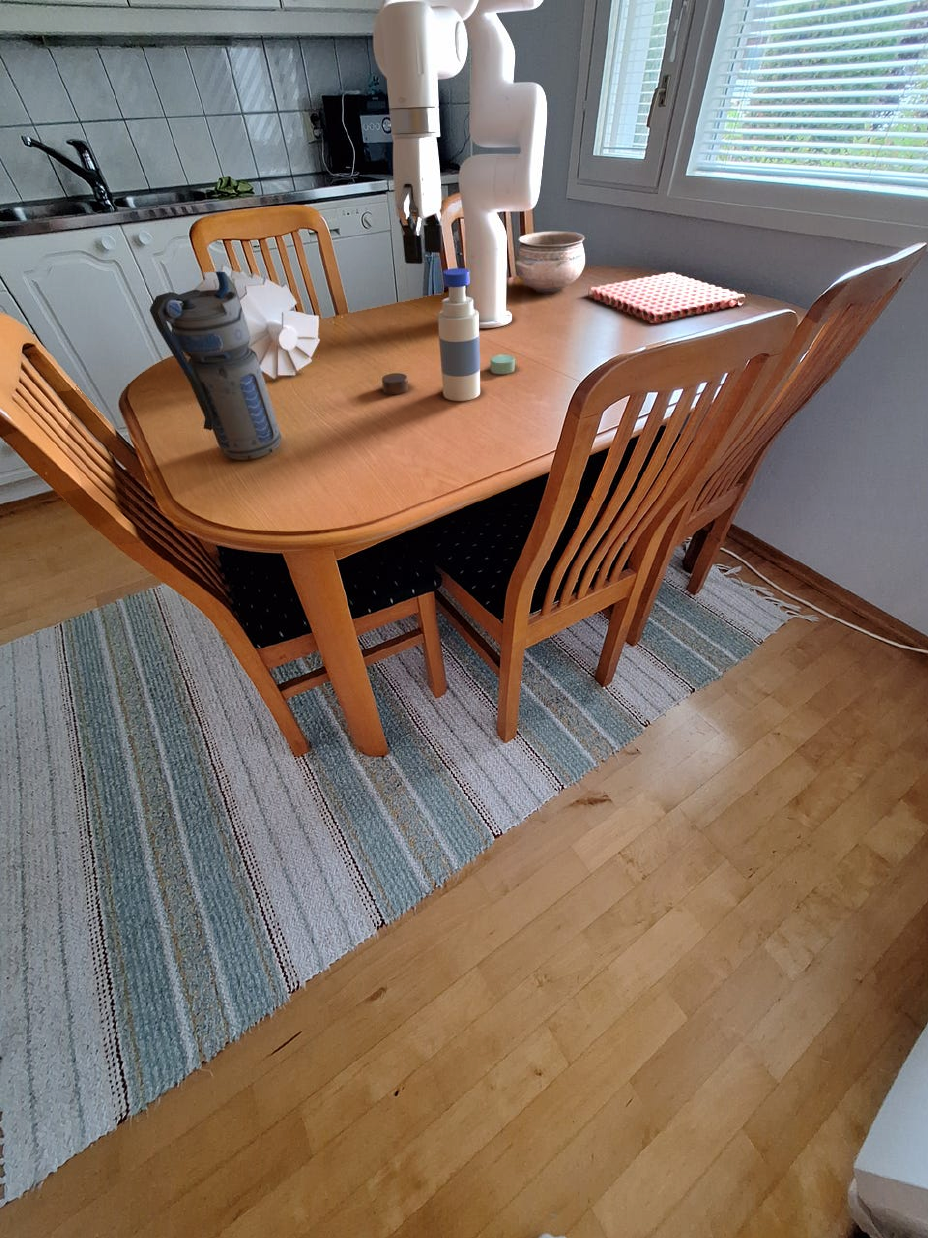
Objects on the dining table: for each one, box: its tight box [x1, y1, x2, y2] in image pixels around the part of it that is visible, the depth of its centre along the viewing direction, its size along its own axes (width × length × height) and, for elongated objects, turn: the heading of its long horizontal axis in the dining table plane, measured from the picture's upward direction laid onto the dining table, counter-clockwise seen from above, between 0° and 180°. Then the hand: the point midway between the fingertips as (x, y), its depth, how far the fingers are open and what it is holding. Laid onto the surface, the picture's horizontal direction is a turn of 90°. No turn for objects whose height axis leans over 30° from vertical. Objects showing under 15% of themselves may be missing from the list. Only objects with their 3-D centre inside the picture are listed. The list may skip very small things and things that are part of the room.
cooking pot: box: [514, 230, 586, 295], centre depth 145 cm, size 25×19×12 cm
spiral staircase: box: [193, 264, 321, 380], centre depth 111 cm, size 18×18×25 cm
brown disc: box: [381, 372, 409, 395], centre depth 105 cm, size 5×5×2 cm
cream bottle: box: [437, 267, 481, 402], centre depth 96 cm, size 7×7×20 cm
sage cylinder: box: [489, 353, 516, 375], centre depth 109 cm, size 5×5×2 cm
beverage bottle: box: [149, 270, 282, 461], centre depth 81 cm, size 10×13×25 cm
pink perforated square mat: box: [587, 272, 746, 324], centre depth 138 cm, size 28×28×2 cm
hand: (424, 257), depth 93 cm, fingers open, 9 cm apart
